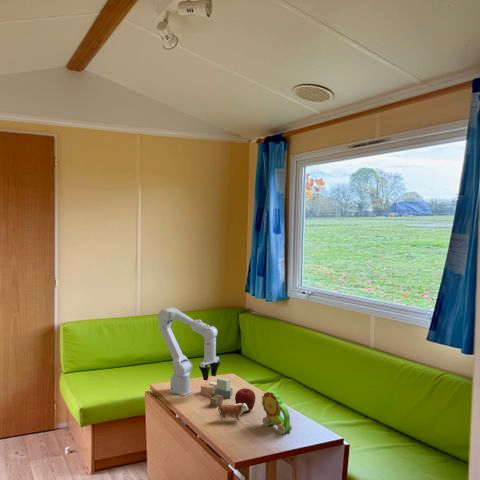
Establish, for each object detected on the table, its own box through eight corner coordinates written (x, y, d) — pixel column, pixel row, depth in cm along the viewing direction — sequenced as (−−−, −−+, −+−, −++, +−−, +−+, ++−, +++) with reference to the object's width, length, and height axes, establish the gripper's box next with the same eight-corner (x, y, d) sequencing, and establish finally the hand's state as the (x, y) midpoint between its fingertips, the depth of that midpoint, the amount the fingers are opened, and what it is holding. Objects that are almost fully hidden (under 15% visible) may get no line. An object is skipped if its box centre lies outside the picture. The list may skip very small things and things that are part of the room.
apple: (235, 414, 226) (236, 393, 225) (234, 406, 235) (234, 386, 235) (256, 414, 227) (256, 392, 226) (253, 406, 236) (254, 385, 236)
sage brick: (216, 388, 249) (216, 378, 249) (220, 386, 252) (220, 377, 252) (226, 391, 246) (226, 381, 246) (230, 389, 249) (230, 379, 249)
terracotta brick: (200, 393, 253) (200, 386, 252) (204, 391, 256) (204, 384, 255) (210, 396, 250) (210, 388, 250) (214, 394, 253) (214, 386, 253)
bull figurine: (248, 423, 217) (248, 404, 216) (217, 422, 217) (218, 404, 217) (248, 419, 221) (248, 401, 221) (218, 418, 221) (218, 400, 221)
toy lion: (292, 432, 208) (293, 396, 207) (282, 435, 205) (283, 399, 204) (267, 420, 221) (268, 386, 220) (258, 422, 217) (259, 388, 217)
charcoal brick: (214, 397, 248) (214, 389, 247) (216, 394, 253) (217, 386, 252) (230, 399, 246) (230, 391, 246) (232, 395, 251) (232, 388, 251)
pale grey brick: (208, 390, 257) (208, 383, 257) (212, 388, 260) (212, 381, 260) (218, 392, 254) (218, 385, 254) (221, 391, 257) (222, 383, 257)
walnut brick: (216, 408, 234) (216, 399, 234) (210, 406, 235) (210, 398, 235) (222, 404, 239) (222, 395, 239) (216, 402, 241) (216, 394, 241)
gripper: (209, 355, 239) (208, 383, 240) (224, 349, 252) (223, 375, 253) (196, 353, 243) (196, 380, 243) (212, 347, 255) (212, 373, 256)
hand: (209, 378), depth 248 cm, fingers open, 7 cm apart
